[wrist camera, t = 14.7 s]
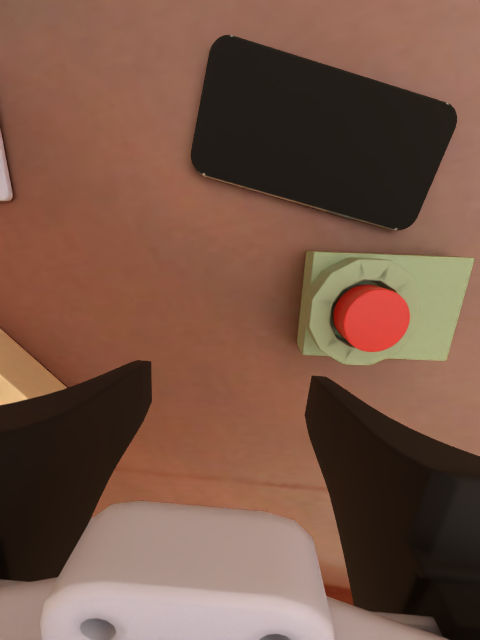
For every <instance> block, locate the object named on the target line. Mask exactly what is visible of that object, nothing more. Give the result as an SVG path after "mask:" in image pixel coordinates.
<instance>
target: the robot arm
mask: <svg viewBox="0 0 480 640" xmlns="http://www.w3.org/2000/svg"><path fill="white" fill-rule="evenodd" d="M12 197H13V193H12V188H11V182H10V177H9V172H8V167H7V161H6V156H5V151H4V145H3V140H2V135H1V130H0V201H10V200H11V199H12ZM151 402H152V386H151V361H140V360H137V361H134V362H131V363H128V364H126V365H123V366H121V367H119V368H116V369H114V370H112V371H110V372H107V373H105V374H103V375H100V376H98V377H95V378H93V379H90V380H88V381H85V382H82V383H80V384H77V385H75V386H72V387H69V388H66V389H63V390H60V391H56V392H53V393H50V394H46V395H43V396H39V397H34V398H30V399H26V400H22V401H18V402H14V403H9V404H4V405H0V640H480V456H477V455H474V454H471V453H468V452H466V451H463V450H460V449H457V448H455V447H452V446H450V445H447V444H445V443H442V442H440V441H437V440H435V439H433V438H430V437H428V436H426V435H423V434H421V433H419V432H417V431H415V430H413V429H410V428H408V427H406V426H404V425H402V424H401V423H399V422H397V421H395V420H393V419H391V418H389V417H387V416H386V415H384V414H382V413H380V412H379V411H377V410H376V409H374V408H372V407H371V406H369V405H367V404H366V403H364V402H363V401H361V400H360V399H358V398H357V397H355V396H354V395H353V394H351V393H350V392H348V391H347V390H345V389H344V388H342V387H341V386H340V385H338V384H337V383H335V382H334V381H332V380H331V379H329V378H327V377H322V376H312V378H311V383H310V389H309V395H308V400H307V406H306V411H305V419H306V424H307V429H308V433H309V437H310V440H311V443H312V446H313V449H314V451H315V454H316V457H317V460H318V463H319V465H320V468H321V471H322V474H323V477H324V479H325V482H326V485H327V488H328V492H329V495H330V498H331V502H332V506H333V511H334V515H335V519H336V523H337V527H338V531H339V536H340V540H341V545H342V549H343V553H344V558H345V563H346V568H347V573H348V578H349V582H350V587H351V592H352V597H353V603H354V606H353V605H350V604H347V603H344V602H342V601H339V600H336V599H333V598H330V597H327V596H326V594H325V589H324V585H323V580H322V576H321V572H320V567H319V563H318V558H317V554H316V550H315V545H314V541H313V538H312V537H311V536H310V535H309V534H308V533H307V532H306V531H305V530H304V529H303V528H302V527H301V526H300V525H299V524H298V523H297V522H296V521H294V520H292V519H291V518H287V517H284V516H280V515H277V514H274V513H270V512H267V511H258V510H247V509H235V508H224V507H212V506H201V505H189V504H178V503H166V502H155V501H143V500H141V501H133V502H124V503H116V504H112V505H110V506H109V507H107V508H106V509H104V510H103V511H102V512H100V513H99V514H97V515H96V516H95V517H93V518H92V519H91V516H92V514H93V512H94V510H95V508H96V505H97V503H98V501H99V499H100V497H101V495H102V493H103V491H104V489H105V487H106V485H107V482H108V480H109V478H110V476H111V474H112V473H113V471H114V469H115V467H116V465H117V464H118V462H119V461H120V459H121V457H122V456H123V454H124V452H125V451H126V449H127V447H128V446H129V444H130V443H131V441H132V439H133V438H134V436H135V434H136V433H137V431H138V429H139V428H140V426H141V424H142V423H143V421H144V419H145V416H146V414H147V412H148V409H149V407H150V404H151ZM90 519H91V520H90ZM89 521H90V522H89ZM88 523H89V524H88Z"/></svg>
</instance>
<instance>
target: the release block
mask: <svg viewBox="0 0 480 640" xmlns="http://www.w3.org/2000/svg"><path fill="white" fill-rule="evenodd" d="M474 260H475V258H469V257H452V256H427V255H400V254H373V253H347V252H320V251H306V258H305V268H304V278H303V287H302V297H301V307H300V316H299V326H298V336H297V345H298V347H299V349H300V351H301V353H302V355H316V356H330V357H332V358H333V359H335V360H336V361H338V362H340V363H342V364H350V365H373V364H375V363H377V362H379V361H382V360H384V359H386V358H389V359H413V360H437V361H446V360H447V356H448V352H449V349H450V345H451V342H452V338H453V335H454V331H455V327H456V324H457V320H458V317H459V313H460V310H461V306H462V302H463V299H464V295H465V292H466V288H467V285H468V281H469V277H470V274H471V270H472V267H473V263H474ZM366 284H369V285H375V286H379V287H382V288H385V289H388V290H391V291H394V292H396V293H398V294H399V295H400V296H401V297H402V298H403V299H404V300H405V301H406V303H407V305H408V307H409V311H410V322H409V326H408V329H407V331H406V333H405V334H404V336H403V337H402V338H401V339H400V340H399V341H398V342H397V343H396V344H395V345H393V346H392V347H390V348H388V349H386V350H383V351H378V352H365V351H362V350H359V349H357V348H355V347H354V346H352V345H351V344H350V343H349V342H348V341H347V340H346V339H345V338H344V337H343V336H342V335H341V334H340V333H339V332H338V331H337V329H336V327H335V325H334V320H333V314H334V309H335V306H336V304H337V302H338V300H339V299H340V298H341V296H342V295H343V294H344V293H345V292H347V291H348V290H350V289H352V288H354V287H356V286H359V285H366Z"/></svg>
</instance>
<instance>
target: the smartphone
mask: <svg viewBox="0 0 480 640" xmlns="http://www.w3.org/2000/svg"><path fill="white" fill-rule="evenodd" d="M456 123H457V115H456V111H455V109H454V108H453V107H452V106H451V105H450V104H449V103H446V102H443V101H440V100H437V99H433V98H430V97H427V96H424V95H421V94H417V93H414V92H411V91H408V90H405V89H401V88H398V87H395V86H392V85H389V84H385V83H382V82H379V81H376V80H373V79H370V78H366V77H363V76H360V75H357V74H354V73H350V72H347V71H344V70H341V69H338V68H334V67H331V66H328V65H325V64H322V63H318V62H315V61H312V60H309V59H306V58H302V57H299V56H296V55H293V54H290V53H286V52H283V51H280V50H277V49H274V48H271V47H267V46H264V45H261V44H258V43H255V42H251V41H248V40H245V39H242V38H239V37H235V36H232V35H224V36H222V37H220V38H218V39H217V40H216V41H215V42H214V43H213V45H212V47H211V49H210V53H209V58H208V63H207V69H206V74H205V80H204V85H203V91H202V96H201V102H200V107H199V112H198V118H197V123H196V129H195V134H194V140H193V145H192V150H191V160H192V163H193V165H194V167H195V169H196V170H197V171H198V173H200V174H201V175H202V176H204V177H208V178H211V179H215V180H218V181H222V182H225V183H229V184H232V185H236V186H239V187H243V188H246V189H250V190H253V191H257V192H260V193H264V194H267V195H271V196H274V197H278V198H281V199H285V200H288V201H292V202H295V203H299V204H302V205H306V206H309V207H313V208H316V209H320V210H323V211H327V212H329V213H333V214H336V215H340V216H343V217H347V218H350V219H355V220H358V221H362V222H365V223H369V224H372V225H376V226H379V227H383V228H386V229H390V230H402V229H405V228H407V227H409V226H411V225H412V224H413V223H414V222H415V220H416V219H417V217H418V214H419V212H420V210H421V207H422V205H423V203H424V200H425V198H426V195H427V193H428V191H429V188H430V186H431V184H432V181H433V179H434V177H435V174H436V172H437V170H438V167H439V165H440V163H441V160H442V158H443V156H444V153H445V151H446V149H447V146H448V144H449V142H450V139H451V137H452V134H453V132H454V130H455V127H456Z"/></svg>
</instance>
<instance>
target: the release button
mask: <svg viewBox="0 0 480 640" xmlns="http://www.w3.org/2000/svg"><path fill="white" fill-rule="evenodd" d="M333 320H334V325H335V327H336V329H337V331H338V332H339V333H340V334H341V335H342V336H343V337H344V338H345V339H346V340H347V341H348V342H349V343H350V344H351V345H352V346H354V347H355V348H357V349H359V350H362V351H365V352H378V351H383V350H386V349H388V348H390V347H392V346H393V345H395V344H396V343H397V342H398V341H399V340H400V339H401V338H402V337H403V336H404V334H405V333H406V331H407V329H408V326H409V322H410V311H409V307H408V305H407V303H406V301H405V300H404V299H403V298H402V297H401V296H400V295H399V294H398V293H396V292H394V291H391V290H388V289H385V288H382V287H379V286H375V285H369V284H366V285H359V286H356V287H354V288H352V289H350V290H348V291H347V292H345V293H344V294H343V295H342V296H341V298H340V299H339V300H338V302H337V304H336V306H335V309H334V314H333Z"/></svg>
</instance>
